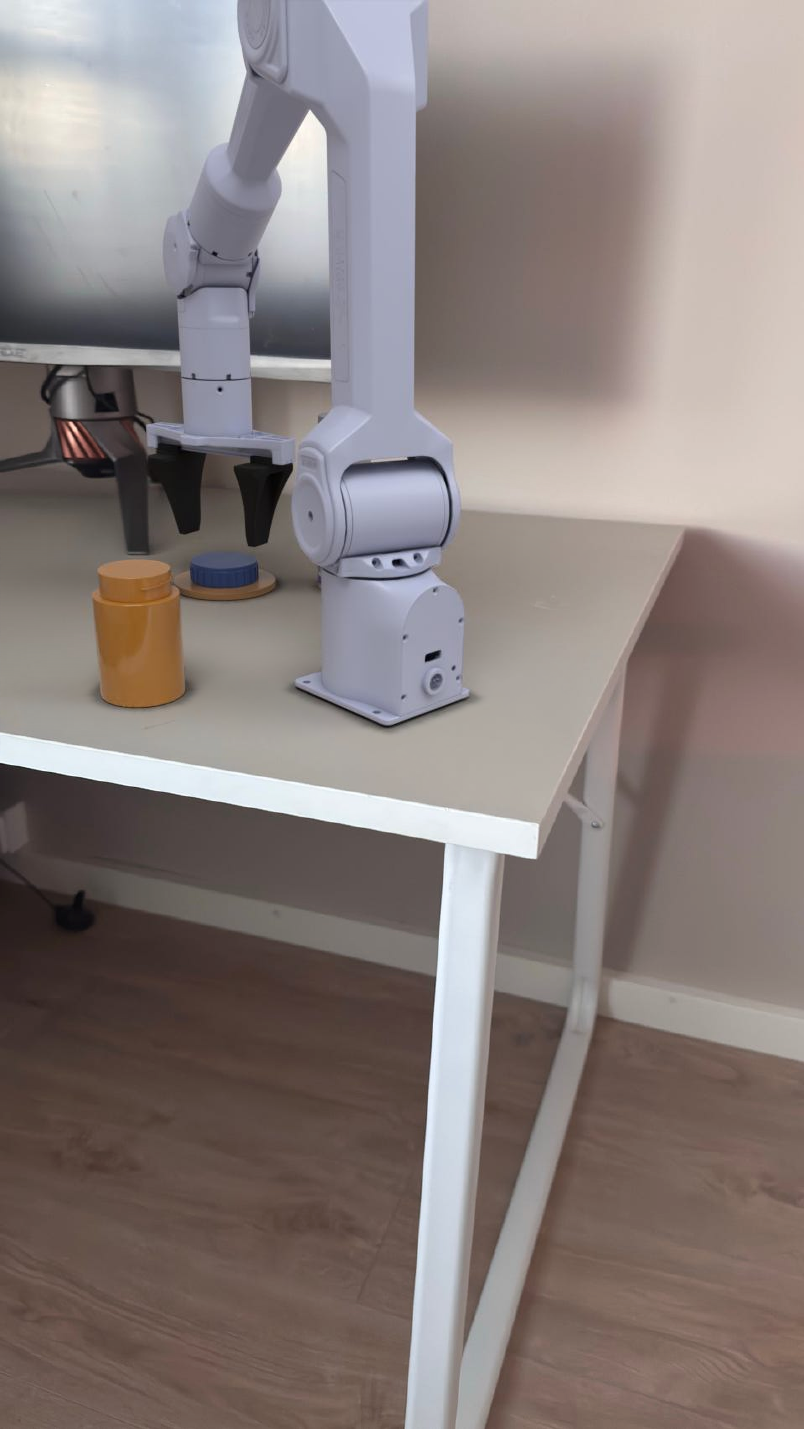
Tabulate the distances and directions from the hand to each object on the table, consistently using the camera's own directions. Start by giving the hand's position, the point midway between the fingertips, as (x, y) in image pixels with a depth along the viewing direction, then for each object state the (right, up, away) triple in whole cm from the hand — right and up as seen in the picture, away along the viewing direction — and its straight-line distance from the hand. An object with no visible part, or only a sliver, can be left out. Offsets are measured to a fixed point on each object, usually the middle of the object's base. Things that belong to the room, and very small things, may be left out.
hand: (223, 538), depth 94 cm
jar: (-2, -14, -22) cm, 26 cm away
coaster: (0, -4, +2) cm, 4 cm away
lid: (0, -2, +1) cm, 2 cm away
